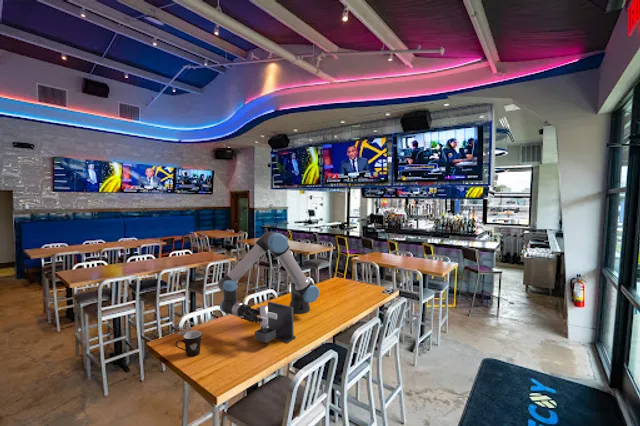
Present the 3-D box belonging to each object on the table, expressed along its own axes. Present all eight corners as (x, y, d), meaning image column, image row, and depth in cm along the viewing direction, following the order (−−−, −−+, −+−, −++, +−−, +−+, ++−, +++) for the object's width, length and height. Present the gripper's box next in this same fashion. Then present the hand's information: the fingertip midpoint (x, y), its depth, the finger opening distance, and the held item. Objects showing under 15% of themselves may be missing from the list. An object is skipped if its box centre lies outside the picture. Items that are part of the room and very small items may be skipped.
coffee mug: (204, 349, 162) (204, 331, 162) (198, 358, 154) (198, 338, 153) (182, 350, 162) (181, 331, 162) (175, 358, 153) (174, 339, 153)
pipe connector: (176, 346, 166) (176, 328, 166) (179, 338, 176) (179, 321, 175) (196, 344, 169) (195, 326, 168) (198, 336, 178) (197, 319, 178)
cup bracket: (271, 331, 185) (271, 300, 184) (295, 338, 175) (295, 306, 174) (248, 343, 169) (247, 310, 168) (273, 352, 159) (272, 317, 158)
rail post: (265, 333, 170) (263, 304, 170) (271, 335, 168) (269, 305, 167) (259, 336, 166) (257, 307, 166) (265, 338, 164) (263, 308, 163)
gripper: (254, 311, 185) (284, 319, 172) (228, 322, 168) (259, 332, 156) (254, 299, 184) (283, 306, 172) (228, 309, 168) (258, 318, 155)
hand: (272, 318), depth 164 cm, fingers open, 7 cm apart
